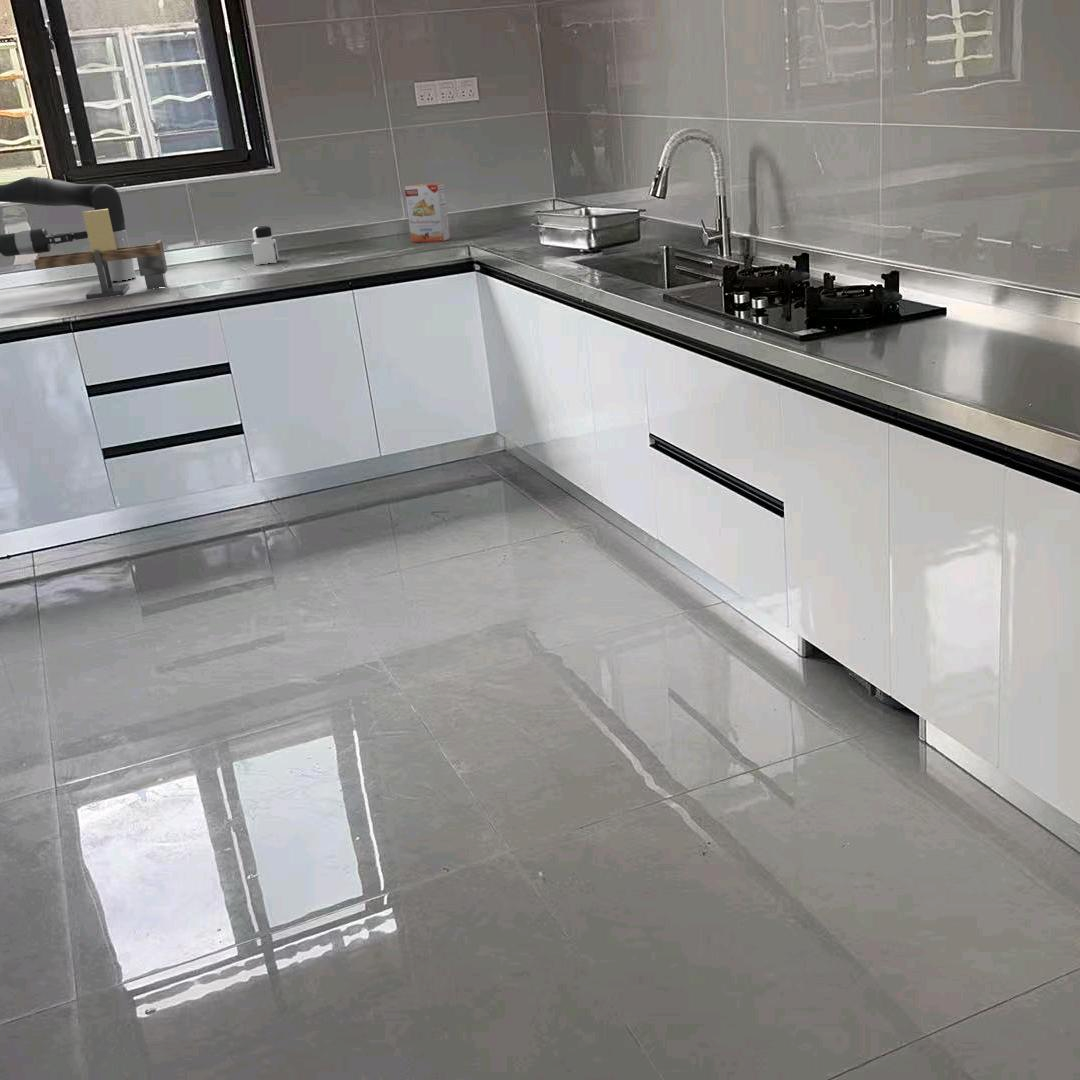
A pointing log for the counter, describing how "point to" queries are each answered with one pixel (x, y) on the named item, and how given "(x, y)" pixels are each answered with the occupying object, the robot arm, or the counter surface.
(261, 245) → the container
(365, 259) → the counter surface
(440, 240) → the cracker box
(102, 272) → the pivot stand
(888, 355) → the counter surface
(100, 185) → the robot arm
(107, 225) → the rider
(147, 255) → the beam
